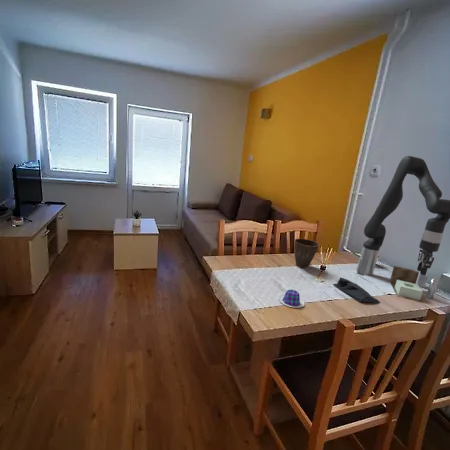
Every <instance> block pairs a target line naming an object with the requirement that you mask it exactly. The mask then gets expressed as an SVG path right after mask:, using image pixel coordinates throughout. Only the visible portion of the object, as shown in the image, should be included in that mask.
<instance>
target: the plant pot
mask: <svg viewBox="0 0 450 450" xmlns="http://www.w3.org/2000/svg"><path fill="white" fill-rule="evenodd" d="M293 246H294V247H293V248H294V261H295V265H296V266H298V267H299V268H304V269H306V268H309V266H310V264H311V262H312V261H313V260H314V257H315V255H316V253H317V251H318V249H319V246H320V244H319V242H317V241H314V240H310V239H306V238H296V239H294V245H293Z"/></svg>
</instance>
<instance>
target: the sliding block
mask: <svg viewBox="0 0 450 450" xmlns="http://www.w3.org/2000/svg"><path fill="white" fill-rule="evenodd" d="M395 289H396V291H397V293H398V295H401V296H405V297H409V298H413V299H417V300H420V299H421V300H422V296H423V290H422V287H419V286H418V284H414V283H409V282H405V281H401V280H397V281H396V285H395Z"/></svg>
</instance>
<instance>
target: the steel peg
mask: <svg viewBox="0 0 450 450" xmlns="http://www.w3.org/2000/svg"><path fill="white" fill-rule="evenodd" d="M439 280H440V279H438V278H435V277H432V278H431V280H430V282H429V286H428V289H427V291H426V296H425V297H426V298H427V299H429V300H433V299H434V296H435V293H436V289H437V287H438V283H439Z"/></svg>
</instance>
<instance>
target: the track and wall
mask: <svg viewBox="0 0 450 450" xmlns="http://www.w3.org/2000/svg"><path fill="white" fill-rule="evenodd" d="M415 270H416V269H411V268H410V269H409V268H405V267H402V266H396V265H393V268H392V272H391V275H390V279H389V283H390V285H391V287H392V289H393V291H394V293H395V295H396V297H397V298H402V299H406V300H409V301H413V302H418V303H422V304H424V303H425V302H424V300H422V298H421V299H420V300H417V299H413V298H409V297H405V296H401V295H398V293H397V291H396V289H395V285H396V281H397V280H401V281H405V282H409V283H414V284H416V281H417V278H418V274H419V272H418V271H415Z"/></svg>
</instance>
